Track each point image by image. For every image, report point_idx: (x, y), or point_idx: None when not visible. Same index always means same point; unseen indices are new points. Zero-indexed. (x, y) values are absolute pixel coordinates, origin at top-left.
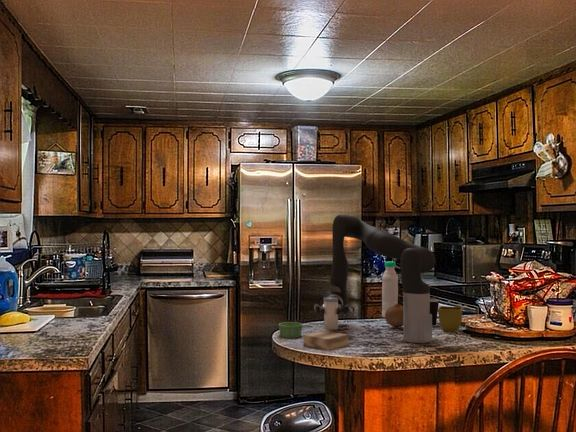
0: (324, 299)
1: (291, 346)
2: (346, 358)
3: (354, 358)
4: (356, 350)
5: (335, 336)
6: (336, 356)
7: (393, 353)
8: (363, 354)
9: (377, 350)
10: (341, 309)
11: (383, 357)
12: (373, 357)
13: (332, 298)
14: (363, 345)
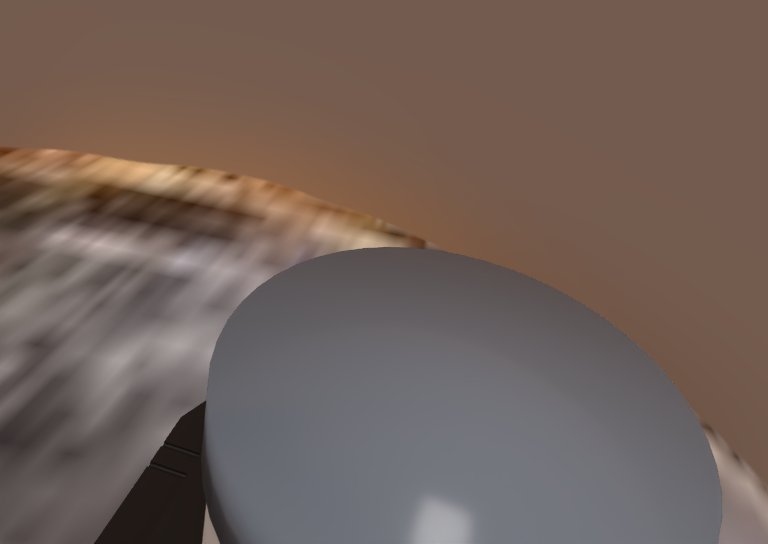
0: (654, 395)
1: (725, 500)
2: (354, 211)
3: (312, 202)
4: (226, 302)
5: None
6: (399, 243)
7: (21, 206)
8: (227, 234)
9: (71, 271)
10: (135, 495)
11: (146, 178)
12: (201, 189)
13: (425, 313)
14: (73, 405)
